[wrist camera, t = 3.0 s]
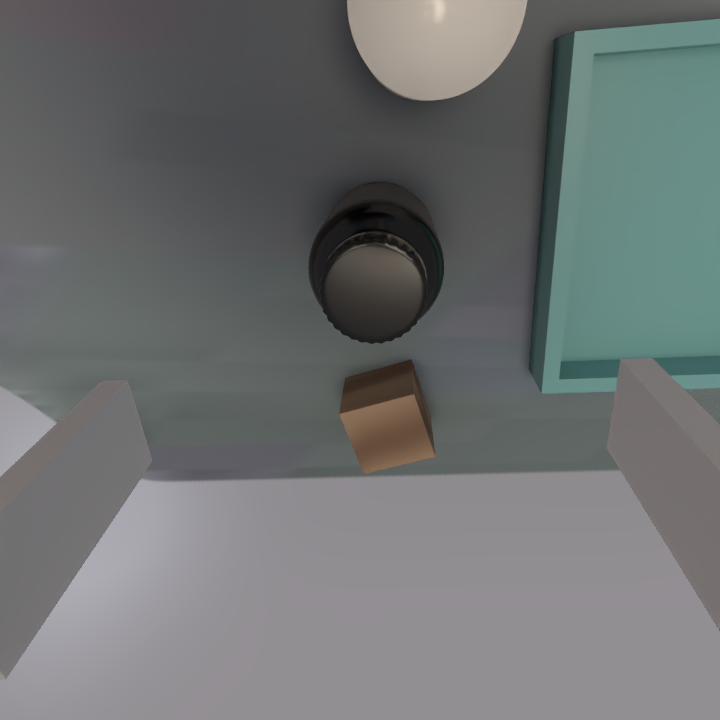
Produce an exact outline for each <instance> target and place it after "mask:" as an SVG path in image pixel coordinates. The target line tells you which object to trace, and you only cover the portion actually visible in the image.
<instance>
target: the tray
mask: <svg viewBox="0 0 720 720" xmlns="http://www.w3.org/2000/svg"><path fill="white" fill-rule="evenodd" d="M631 358H653V359H654V360H655V361H656V362H657V363H658V364H659V365H660V366H661V367H662V368H663V369H664V370H665V371H666V372H667V373H668V374H669V375H670V376H671V377H672V378H673V379H674V380H675V381H676V382H677V383H678V384H679V385H680V386H681V387H682V388H683V389H703V388H720V19H712V20H701V21H689V22H678V23H666V24H655V25H643V26H632V27H620V28H609V29H597V30H585V31H575V32H572V33H570V34H567V35H565V36H562V37H560V38H557V39H555V45H554V57H553V70H552V83H551V95H550V108H549V121H548V134H547V146H546V159H545V172H544V185H543V197H542V210H541V223H540V236H539V248H538V261H537V274H536V287H535V299H534V312H533V325H532V338H531V350H530V363H529V370H530V372H531V374H532V376H533V378H534V380H535V382H536V384H537V386H538V388H539V390H540V392H541V394H547V393H578V392H609V391H616V385H617V378H618V372H619V365H620V359H631Z"/></svg>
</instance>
